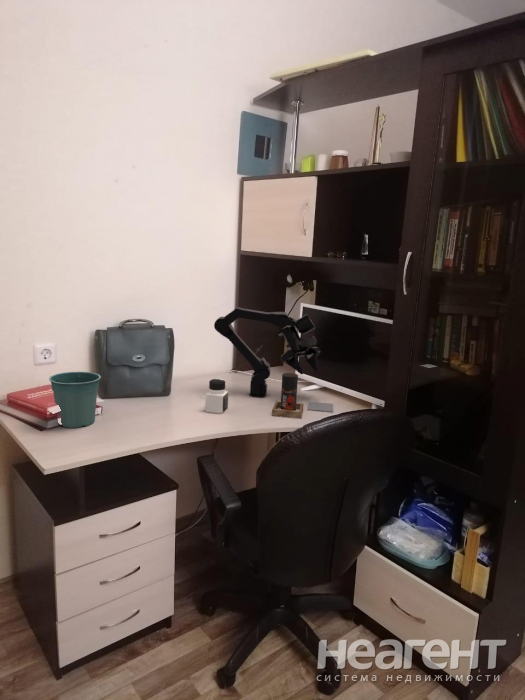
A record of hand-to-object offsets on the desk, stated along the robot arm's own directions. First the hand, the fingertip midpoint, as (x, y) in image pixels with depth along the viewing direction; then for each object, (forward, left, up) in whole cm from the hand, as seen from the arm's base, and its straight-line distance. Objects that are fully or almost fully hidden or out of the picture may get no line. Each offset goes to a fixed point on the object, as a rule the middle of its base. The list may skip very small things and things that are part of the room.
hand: (309, 372), depth 200 cm
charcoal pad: (+5, -3, -13) cm, 15 cm away
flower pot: (-77, -44, -14) cm, 89 cm away
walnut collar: (-7, -13, -13) cm, 20 cm away
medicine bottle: (-34, -18, -14) cm, 40 cm away
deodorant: (-7, -13, -14) cm, 20 cm away
